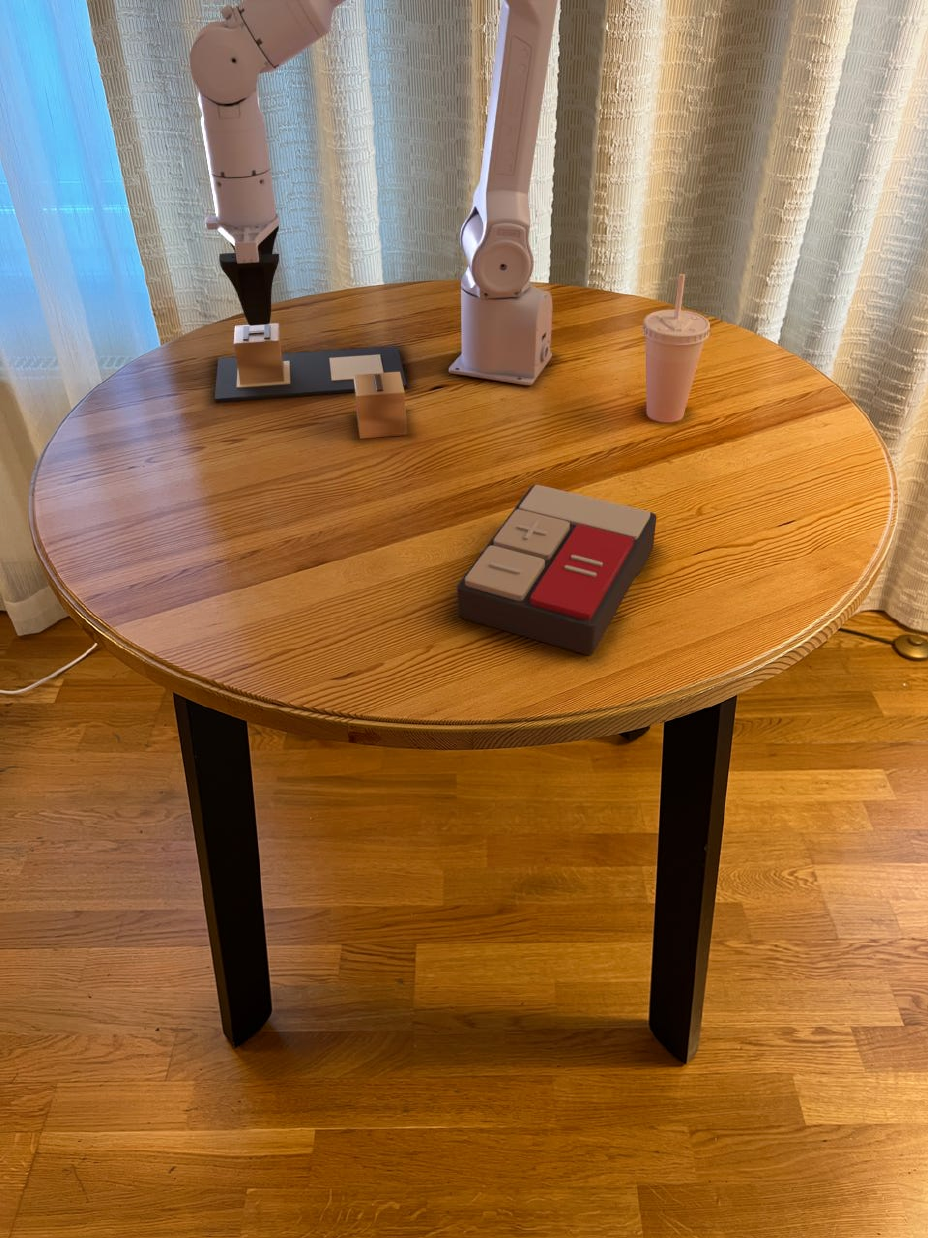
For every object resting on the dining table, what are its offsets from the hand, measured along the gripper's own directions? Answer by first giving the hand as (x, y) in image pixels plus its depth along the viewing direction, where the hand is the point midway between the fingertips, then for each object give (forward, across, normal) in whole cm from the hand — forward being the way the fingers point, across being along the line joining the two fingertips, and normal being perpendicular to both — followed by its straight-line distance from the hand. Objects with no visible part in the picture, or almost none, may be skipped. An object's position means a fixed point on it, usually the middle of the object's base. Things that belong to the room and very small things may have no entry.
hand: (259, 308), depth 105 cm
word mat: (+8, 0, +4) cm, 9 cm away
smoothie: (+8, +14, +40) cm, 43 cm away
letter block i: (+8, +12, +11) cm, 18 cm away
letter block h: (+7, 0, -1) cm, 7 cm away
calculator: (+8, +40, +23) cm, 47 cm away
